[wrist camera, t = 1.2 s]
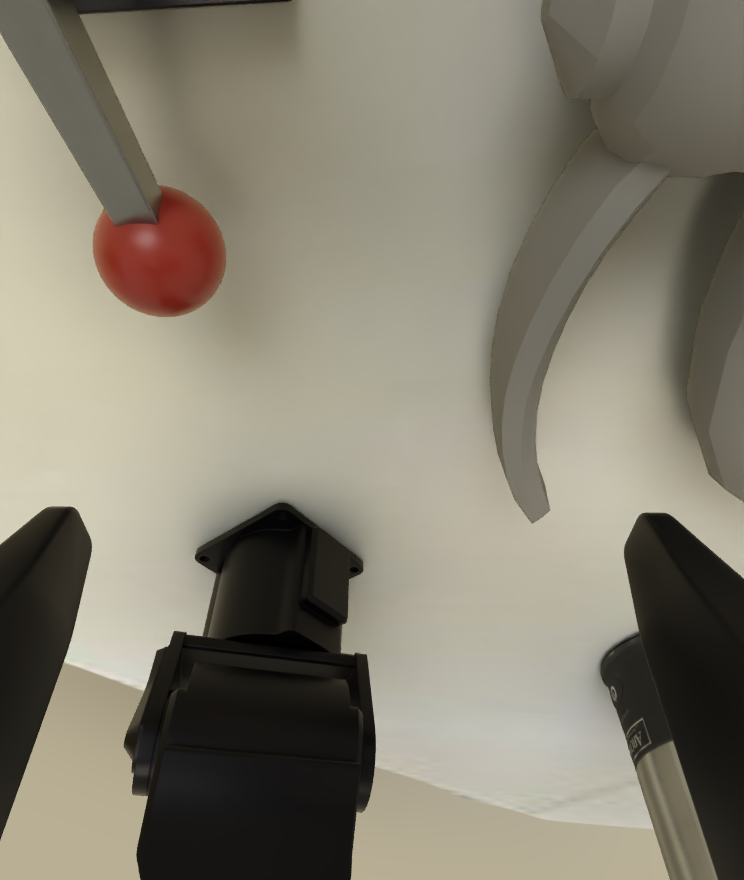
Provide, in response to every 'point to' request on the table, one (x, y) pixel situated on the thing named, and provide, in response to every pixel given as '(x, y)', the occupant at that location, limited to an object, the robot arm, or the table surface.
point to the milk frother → (657, 763)
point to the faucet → (629, 210)
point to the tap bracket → (155, 4)
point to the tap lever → (115, 168)
